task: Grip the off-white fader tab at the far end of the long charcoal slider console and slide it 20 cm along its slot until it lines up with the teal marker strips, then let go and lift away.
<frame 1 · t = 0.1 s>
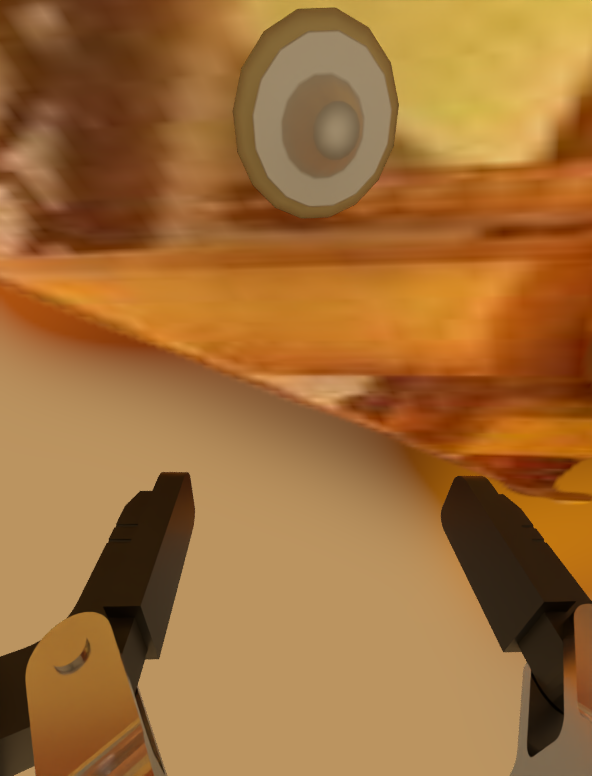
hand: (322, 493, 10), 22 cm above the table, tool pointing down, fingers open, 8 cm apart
squeeze bottle: (301, 127, 22), on the table
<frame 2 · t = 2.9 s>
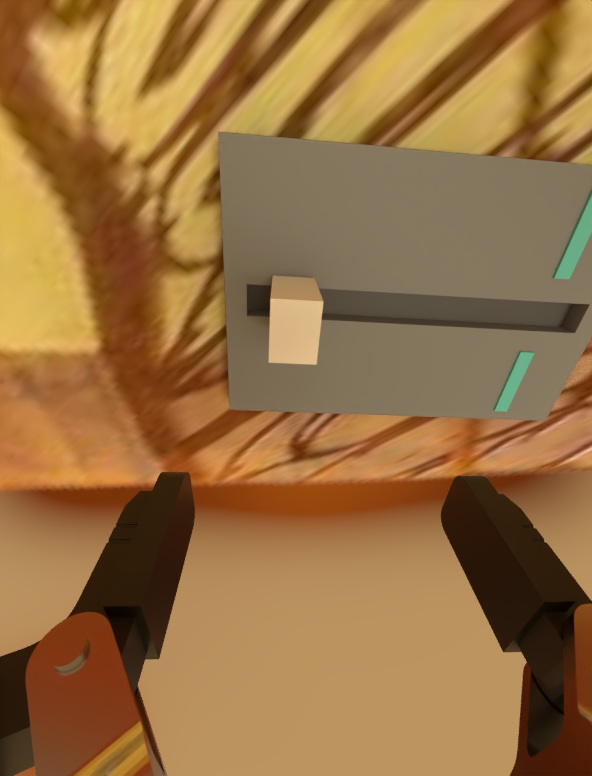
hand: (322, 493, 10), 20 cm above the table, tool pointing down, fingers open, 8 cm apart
console: (409, 301, 28), on the table
fader tab: (292, 313, 23), point 5 cm above the table, slide at 0.0 cm
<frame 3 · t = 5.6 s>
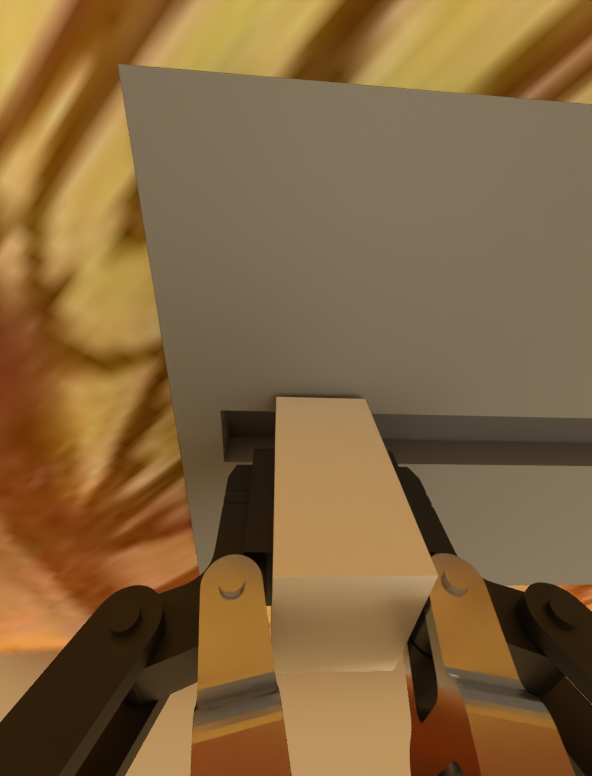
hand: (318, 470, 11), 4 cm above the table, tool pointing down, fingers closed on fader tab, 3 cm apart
console: (526, 407, 15), on the table
fader tab: (323, 493, 10), point 5 cm above the table, slide at 0.0 cm, touching gripper
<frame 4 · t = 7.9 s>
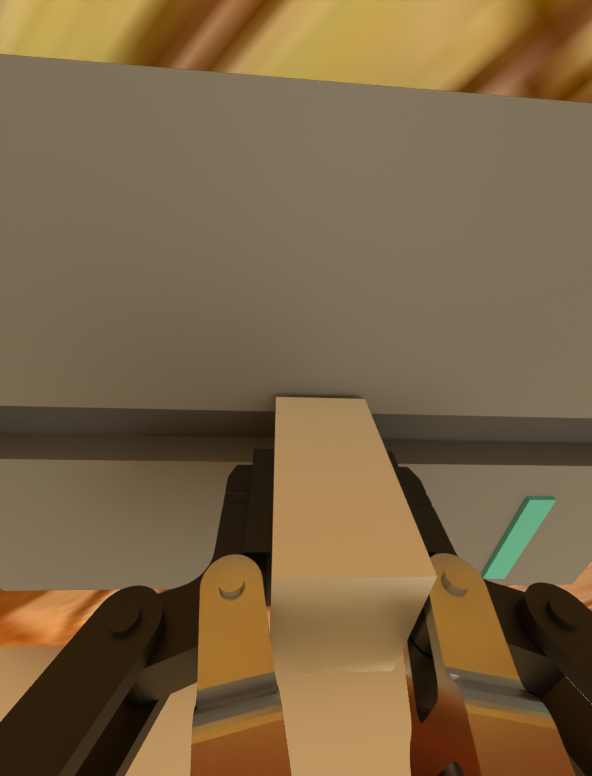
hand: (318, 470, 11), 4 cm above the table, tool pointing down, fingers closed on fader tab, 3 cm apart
console: (313, 402, 14), on the table
fader tab: (322, 493, 10), point 5 cm above the table, slide at 9.9 cm, touching gripper
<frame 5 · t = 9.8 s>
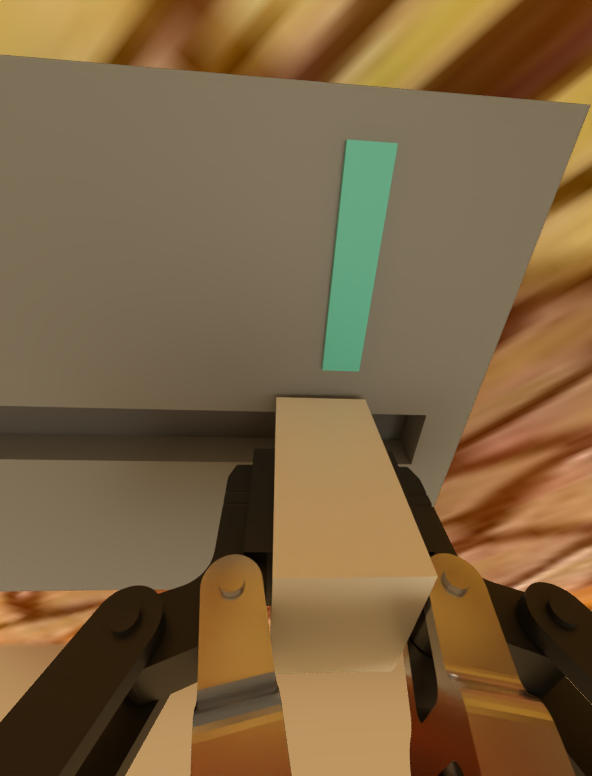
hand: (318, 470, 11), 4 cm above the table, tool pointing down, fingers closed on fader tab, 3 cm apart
console: (86, 397, 14), on the table
fader tab: (323, 493, 10), point 5 cm above the table, slide at 19.4 cm, touching gripper
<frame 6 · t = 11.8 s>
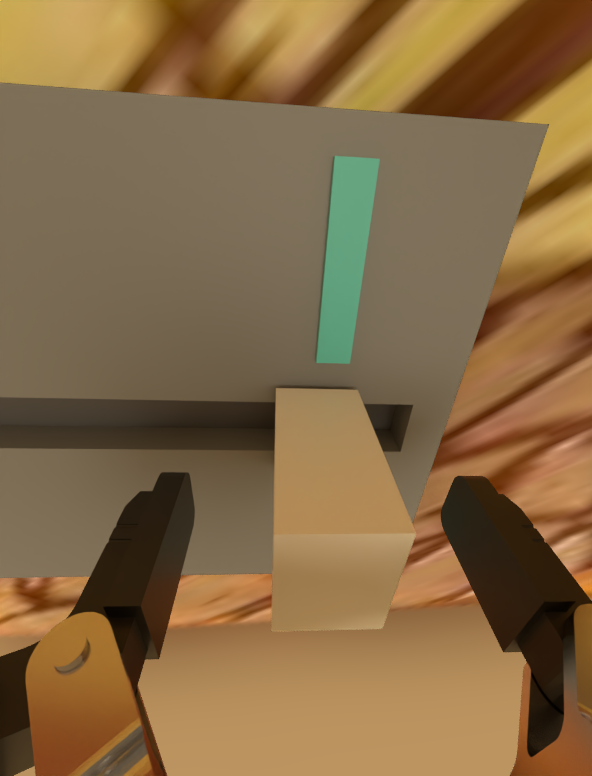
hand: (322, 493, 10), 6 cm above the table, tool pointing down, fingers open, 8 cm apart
console: (97, 391, 15), on the table
fader tab: (319, 475, 11), point 5 cm above the table, slide at 19.5 cm
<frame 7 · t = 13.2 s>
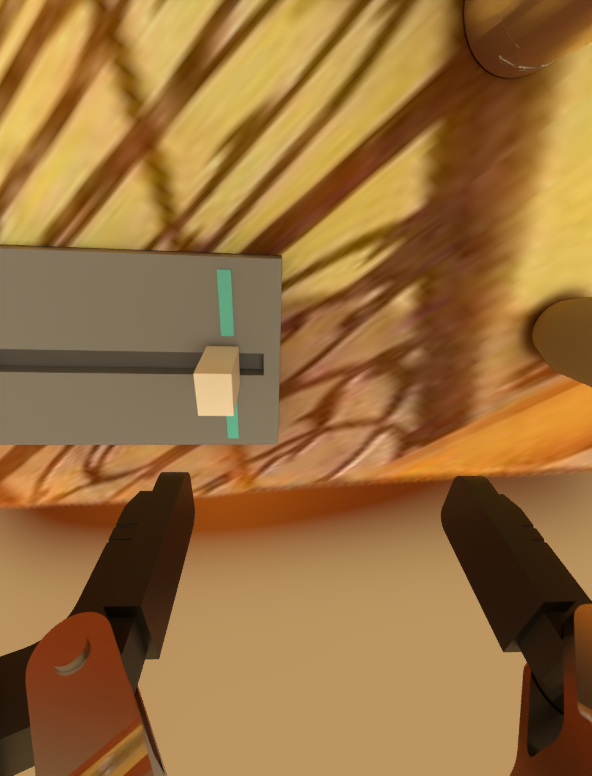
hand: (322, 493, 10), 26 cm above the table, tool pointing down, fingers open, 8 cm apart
console: (134, 352, 34), on the table
fader tab: (220, 375, 31), point 5 cm above the table, slide at 19.5 cm
squeeze bottle: (556, 325, 36), on the table
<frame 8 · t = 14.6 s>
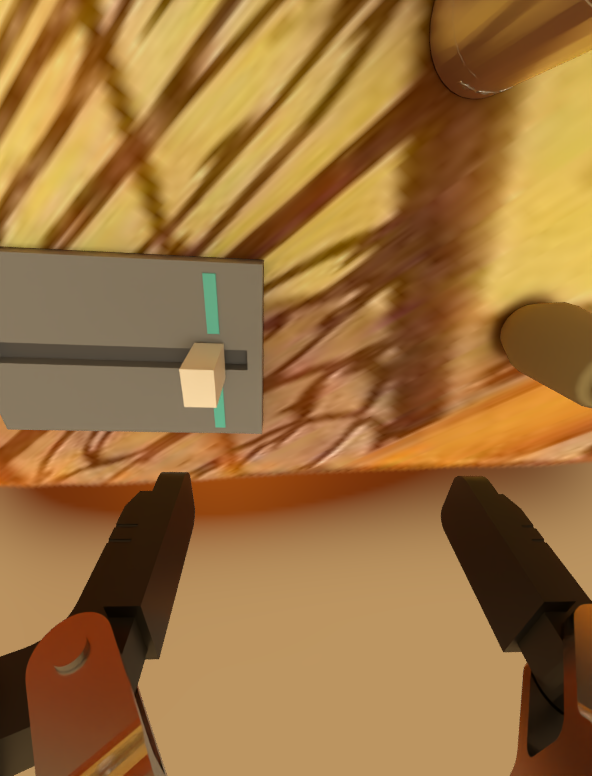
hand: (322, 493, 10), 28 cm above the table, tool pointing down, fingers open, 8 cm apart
console: (129, 347, 37), on the table
fader tab: (206, 370, 33), point 5 cm above the table, slide at 19.5 cm
squeeze bottle: (523, 327, 38), on the table
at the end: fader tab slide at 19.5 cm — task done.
